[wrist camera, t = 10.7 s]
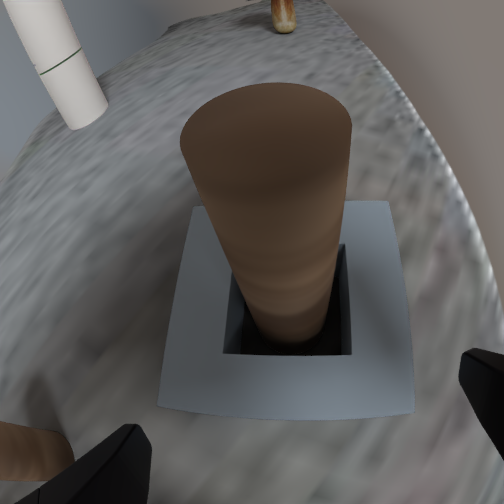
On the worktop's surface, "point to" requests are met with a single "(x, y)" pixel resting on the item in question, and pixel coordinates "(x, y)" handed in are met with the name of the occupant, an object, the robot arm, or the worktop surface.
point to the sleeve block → (292, 367)
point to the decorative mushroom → (283, 15)
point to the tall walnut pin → (275, 199)
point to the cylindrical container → (58, 59)
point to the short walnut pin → (32, 453)
